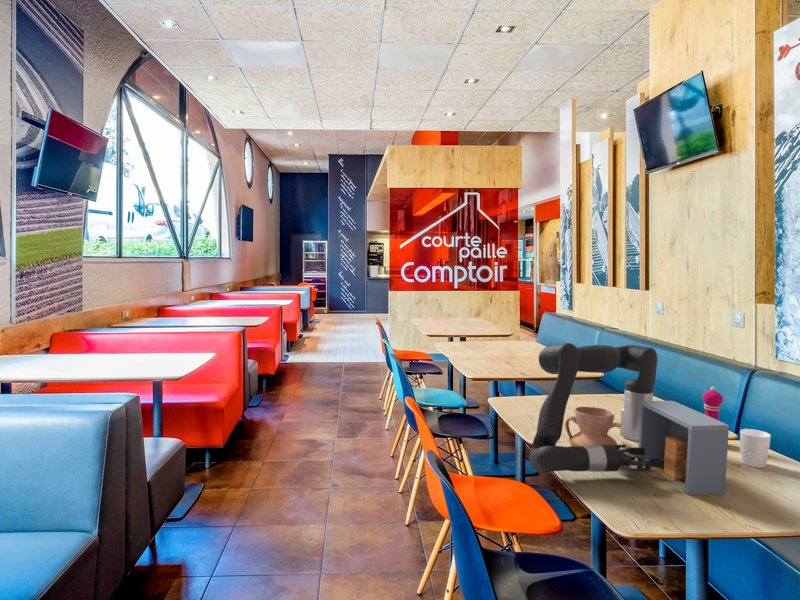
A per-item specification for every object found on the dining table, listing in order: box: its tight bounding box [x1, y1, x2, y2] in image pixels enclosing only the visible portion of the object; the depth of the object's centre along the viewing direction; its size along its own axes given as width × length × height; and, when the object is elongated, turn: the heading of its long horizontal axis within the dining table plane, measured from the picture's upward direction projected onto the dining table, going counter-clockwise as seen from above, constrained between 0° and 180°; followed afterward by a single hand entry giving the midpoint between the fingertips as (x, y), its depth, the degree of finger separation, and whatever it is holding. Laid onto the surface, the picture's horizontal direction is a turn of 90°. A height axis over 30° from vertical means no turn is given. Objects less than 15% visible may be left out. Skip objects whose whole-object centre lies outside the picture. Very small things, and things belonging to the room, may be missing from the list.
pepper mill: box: [702, 386, 724, 421], centre depth 179 cm, size 7×7×20 cm
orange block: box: [663, 437, 688, 481], centre depth 151 cm, size 5×5×11 cm
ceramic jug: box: [563, 406, 622, 446], centre depth 169 cm, size 18×14×14 cm
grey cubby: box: [638, 400, 730, 496], centre depth 151 cm, size 11×24×19 cm, turn 5°
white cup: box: [739, 428, 772, 469], centre depth 161 cm, size 8×8×10 cm
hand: (652, 456), depth 150 cm, fingers open, 8 cm apart
